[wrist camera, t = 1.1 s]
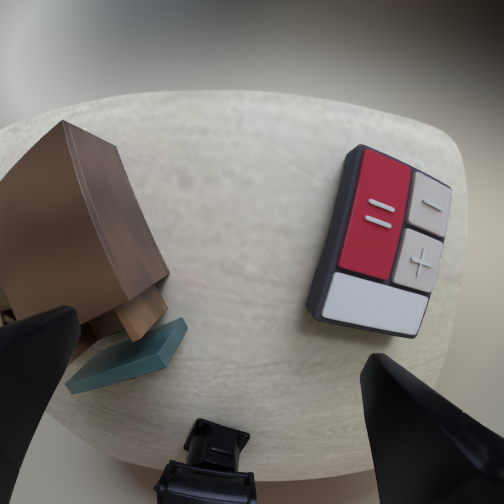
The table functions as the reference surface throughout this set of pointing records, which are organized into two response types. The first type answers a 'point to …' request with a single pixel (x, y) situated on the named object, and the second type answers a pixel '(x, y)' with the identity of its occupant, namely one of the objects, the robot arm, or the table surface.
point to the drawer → (127, 343)
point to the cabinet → (73, 229)
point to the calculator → (381, 246)
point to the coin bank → (5, 309)
